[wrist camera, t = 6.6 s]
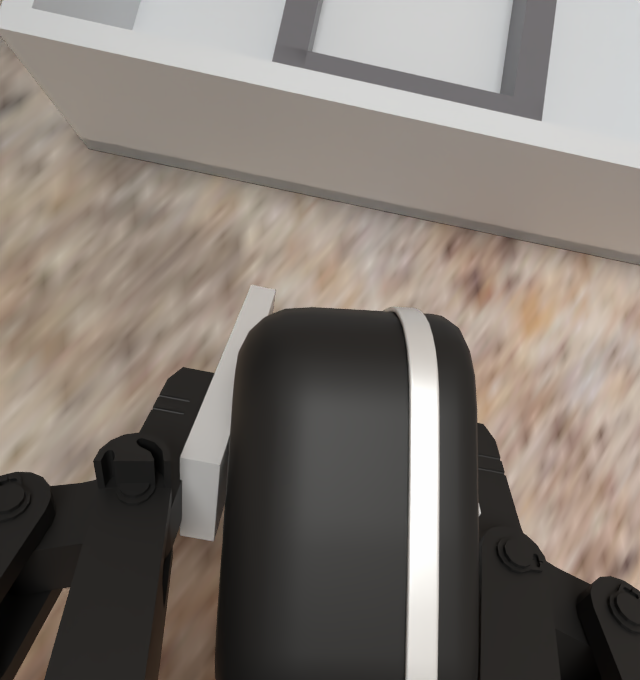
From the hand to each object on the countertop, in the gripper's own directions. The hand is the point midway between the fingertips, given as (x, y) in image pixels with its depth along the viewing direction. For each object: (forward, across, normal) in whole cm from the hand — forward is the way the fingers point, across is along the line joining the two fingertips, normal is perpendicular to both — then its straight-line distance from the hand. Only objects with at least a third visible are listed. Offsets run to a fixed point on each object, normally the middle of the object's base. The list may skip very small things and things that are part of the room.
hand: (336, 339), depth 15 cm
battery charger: (0, 0, -5) cm, 5 cm away
